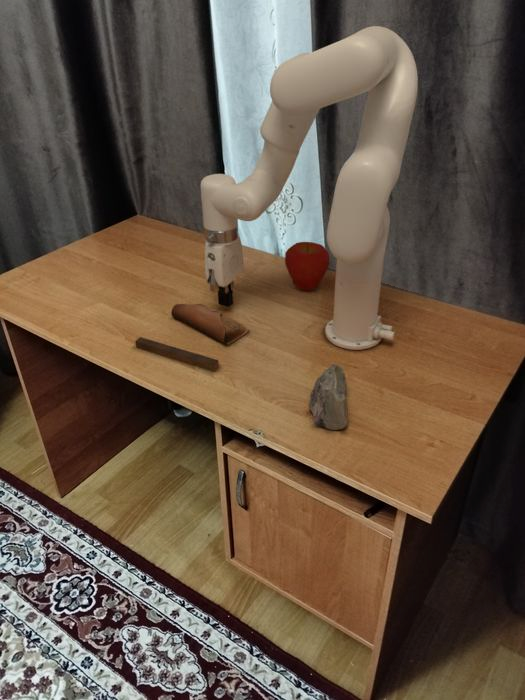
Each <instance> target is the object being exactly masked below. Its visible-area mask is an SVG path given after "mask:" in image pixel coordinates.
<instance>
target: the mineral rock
mask: <svg viewBox="0 0 525 700" xmlns="http://www.w3.org/2000/svg"><path fill="white" fill-rule="evenodd" d="M347 387H348V384H347V378H346V374H345V371H344V369H343V367H342V366H341V365H337V364H331V365H330V366H329V367H328V368H327V369H325V370H324V371H323V372H322V373H321V375H320V376H318V378H316V381H315V383H314V385H313V387H312V388H313V389H312V391H311V392H310V395H309V396H310V397H309V401H308V407H309V409H310V411H311V414H312V417H313V423H315V426H317V427H319V428H325V429H327V430H330V431H338V430H343V429H345V428H346V427H347V426H348V424H349V423H348V404H347V399H346V395H347Z"/></svg>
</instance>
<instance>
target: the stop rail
mask: <svg viewBox="0 0 525 700" xmlns="http://www.w3.org/2000/svg"><path fill="white" fill-rule="evenodd" d="M134 343H135V347H136V349H139V350H142V351H146V352H150V353H152V354H155V355H159V356H163V357H166V358H169V359H172V360H176V361H179V362H181V363H185V364H189V365H190V366H191V365H192V366H195V367H198V368H200V369H201V368H202V369H204V370H208V371H211V372H214V373H215V372H216V371H217V370H218V369H219V368H220V365H219V364H220V363H219V360H218V359H217V358H216V359H215V358H213V357H208V356H206V355H202V354H199V353H195V352H193V351H189V350H186V349H182V348H179V347H176V346H172V345H168V344H166V343H162V342H158V341H155V340H152V339H149V338H145V337H142V336H139V337H138V338H137V339H136V340H134Z"/></svg>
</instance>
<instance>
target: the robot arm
mask: <svg viewBox="0 0 525 700" xmlns="http://www.w3.org/2000/svg"><path fill="white" fill-rule="evenodd" d="M418 86H419V76H418V68H417V64H416V61H415V58H414V55H413V52H412V50H411V49H410V48H409V46H408V43H406V42H405V41H404V39H402V37H401V36H400V35H398V34H397V33H396V32H394V31H393V30H392V29H390V28H387V27H384V26H382V25H381V26H379V25H373V26H367V27H365V28H362V29H361V30H359V31H357V32H355V33H353V34H351V35H350V36H347V37H345V38H343V39H340V40H339V41H336V42H333V43H331V44H329V45H326V46H324V47H321V48H319V49H316V50H314V51H312V52H303V53H300V54H297V55H295V56H293V57H291V58H289V59H287V60H285V61H283V62H281V64H279V65H278V66H277V68H276V69H275V70H274V72H273V74H272V77H271V79H270V83H269V93H270V98H271V103H270V104H269V107H268V109H267V111H266V114H265V116H264V119H263V121H262V123H261V125H260V130H259V132H260V136H261V137H262V139H263V140H264V141H263V147H262V150H261V153H260V155H259V157H258V160H257V162H256V164H255V166H254V168H253V170H252V172H251V174H250V175H248V177H246V178H245V179H244V180H242V181H241V182H238V183H237V182H236V180H235V179H234V177H233V176H231V175H229V174H226V173H213V174H209V175H206V176H205V177H203V178H202V179H201V181H200V196H201V197H200V198H201V199H200V201H201V212H202V222H203V223H202V224H203V235H204V236H203V237H204V242H205V245H204V274H205V275H204V276H205V280H206V283H207V284H208V285H209V291H210V292H212V293H217V302H218V305H220V306H223V307H226V308H230V307H231V306H232V305H234V290H233V289H234V286H235V280H236V279H237V278H238V277H239V276H240V275H241V274H242V273H243V272H244V269H245V268H244V267H245V266H244V265H245V263H244V255H243V246H242V240H241V236H240V233H239V221H243V222H253V221H256V220H257V219H258V218H260V217H261V216H262V215H263V214H264V213H265V212H266V211H267V210H268V208H269V207H271V205H273V204H274V203H275V202H276V200H277V199H278V198H279V196H280V194H281V192H282V191H283V189H284V187H285V185H286V183H287V181H288V179H289V177H290V175H291V173H292V171H293V169H294V167H295V165H296V161H297V159H298V157H299V154H300V150H301V147H302V145H303V143H304V141H305V139H306V137H307V136H308V133H309V131H310V129H311V127H312V125H313V123H314V122H315V119H316V117H317V115H318V114H319V112H320V110H321V109H322V108H325V107H328V106H331V105H334V104H337V103H340V102H343V101H345V100H348V99H352V98H354V97H358V96H360V95H362V94H365V93H366V92H367V98H366V102H365V105H364V109H363V113H362V118H361V124H360V129H359V133H358V138H357V142H356V145H355V148H354V151H353V152H352V154H351V155H350V156H349V157H348V159H347V160H346V161H345V162H344V164H343V166H342V167H341V169H340V171H339V173H338V177H337V179H336V183H335V188H334V193H333V197H332V202H331V209H330V213H329V219H328V223H327V228H326V244H327V247H328V249H329V251H330V253H331V254H332V256H333V257H334V258H336V265H335V278H334V279H335V281H334V297H333V312H332V314H333V315H332V319H331V320H330V321H328V322H327V324H326V325H325V330H324V333H325V337H326V338H327V339H326V340H328V341H329V342H330V343H331V344H333V345H334V346H337V347H339V348H341V349H346V350H353V351H361V350H367V349H370V348H373V347H375V346H377V345H378V344H379V343H380V342H381V341H382V339H384V340H388V341H394V340H395V337H396V331H393V325H389V324H383V322H382V321H381V320H382V316H381V315H379V314H378V313H379V305H380V297H381V296H380V295H381V288H382V287H381V286H382V277H383V271H384V263H385V255H386V248H387V243H388V237H389V231H390V226H391V215H390V210H389V207H388V203H389V199H390V196H391V193H392V191H393V190H394V187H395V186H396V184H397V182H398V180H399V177H400V175H401V170H402V169H401V168H402V163H403V158H404V155H405V151H406V146H407V142H408V138H409V134H410V129H411V124H412V121H413V115H414V111H415V107H416V102H417V97H418Z"/></svg>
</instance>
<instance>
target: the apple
mask: <svg viewBox="0 0 525 700" xmlns="http://www.w3.org/2000/svg"><path fill="white" fill-rule="evenodd" d="M284 265H285V267H286V269H287V272H288V274H289V276H290V279H291V281H292V282H293V284H294V285H295V286H296V287H297V288H298V289H300V290H303V291H313V290H314V289H316V288H317V287H319V285H320V284H321V282H322V280H323V278H324V277H325V276H326V273H327V271H328V268H329V266H330V253H329V251H328V250H327V248H325V247H324V245H322V244H320V243H317V242H312V241H300V242H296V243H294V244H293V245H291V246H290V247H289V248H288V249H287V250H286V252H285V253H284Z"/></svg>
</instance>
